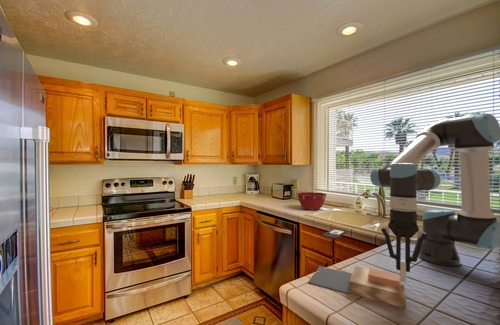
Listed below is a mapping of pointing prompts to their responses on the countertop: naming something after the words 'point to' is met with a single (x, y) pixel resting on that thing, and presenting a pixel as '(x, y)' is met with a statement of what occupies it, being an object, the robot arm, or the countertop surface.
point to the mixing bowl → (311, 200)
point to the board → (376, 288)
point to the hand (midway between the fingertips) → (402, 280)
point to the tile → (383, 277)
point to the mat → (331, 279)
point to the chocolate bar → (333, 234)
